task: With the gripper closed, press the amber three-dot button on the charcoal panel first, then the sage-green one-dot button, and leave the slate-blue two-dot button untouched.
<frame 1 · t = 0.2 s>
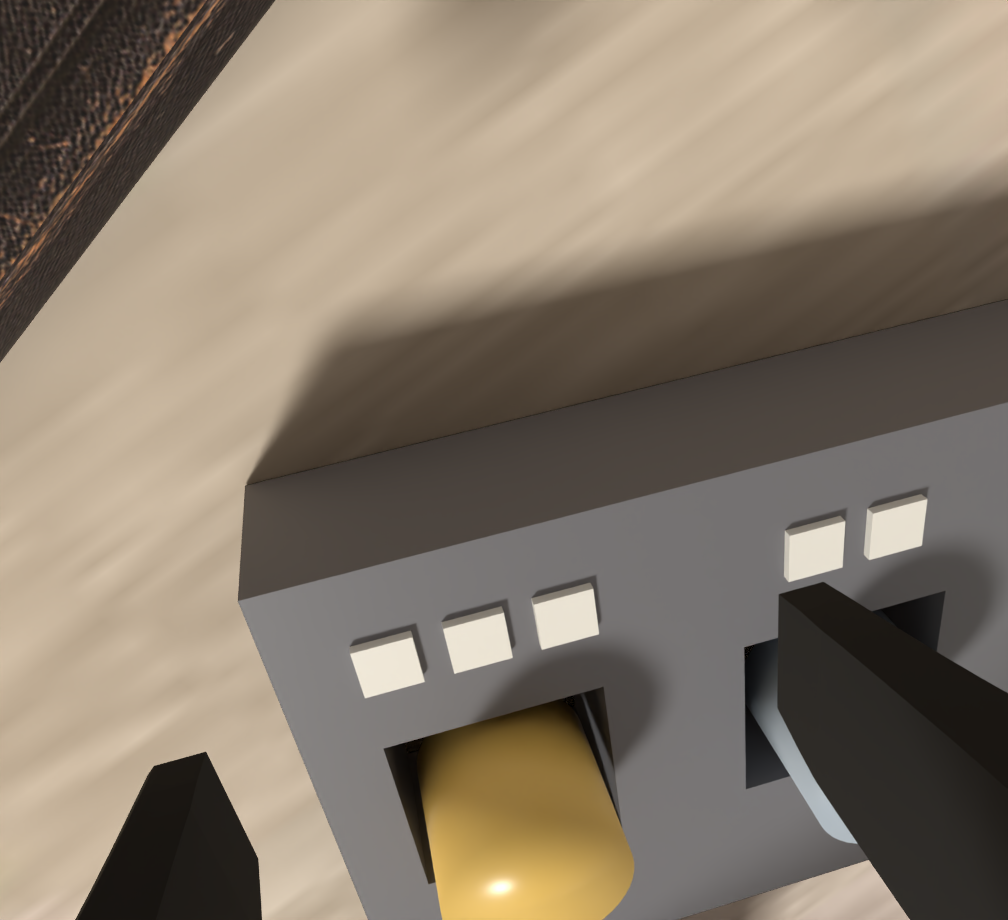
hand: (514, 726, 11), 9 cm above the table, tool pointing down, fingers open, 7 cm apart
button two: (857, 716, 20), point 5 cm above the table, slide at 0.0 cm
button three: (518, 816, 19), point 5 cm above the table, slide at 0.0 cm
button panel: (761, 590, 24), on the table
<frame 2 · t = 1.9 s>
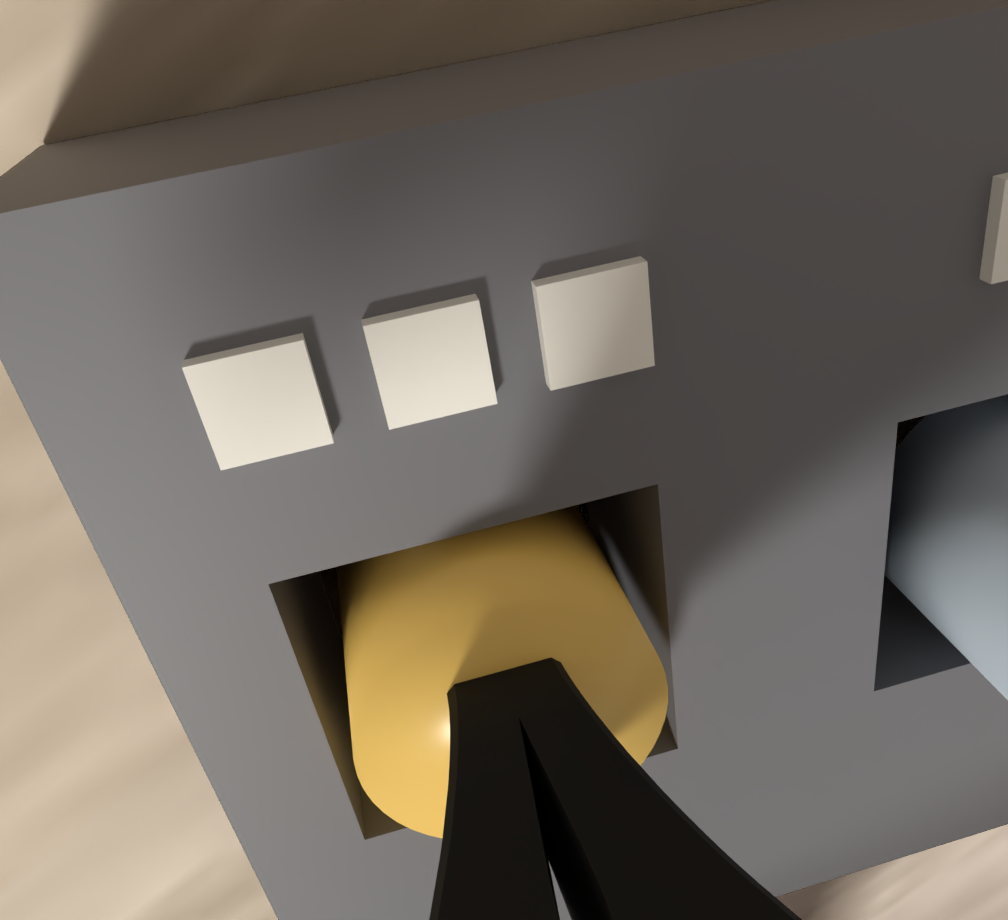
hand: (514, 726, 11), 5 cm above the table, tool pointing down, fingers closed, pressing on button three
button three: (487, 636, 12), point 3 cm above the table, slide at 1.5 cm, touching gripper
button panel: (878, 407, 16), on the table
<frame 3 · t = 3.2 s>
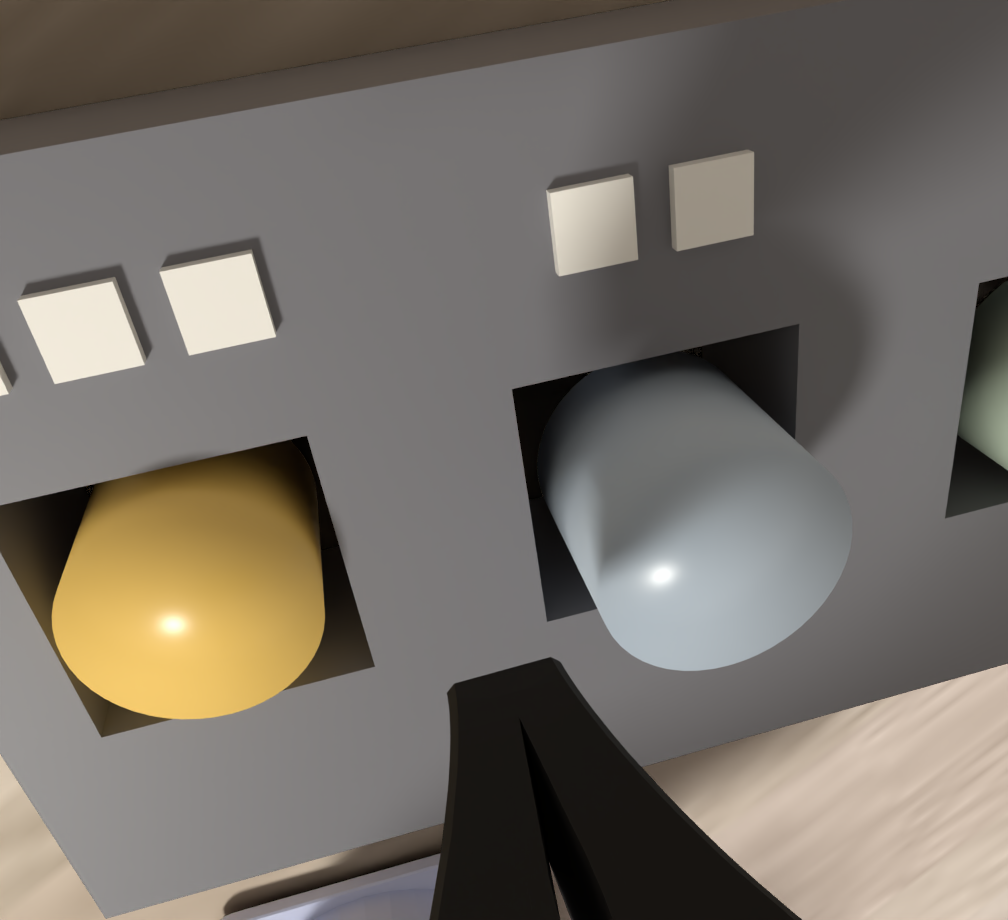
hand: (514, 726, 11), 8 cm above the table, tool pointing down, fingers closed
button two: (680, 503, 15), point 5 cm above the table, slide at 0.0 cm
button three: (202, 556, 15), point 3 cm above the table, slide at 1.8 cm
button panel: (595, 386, 19), on the table
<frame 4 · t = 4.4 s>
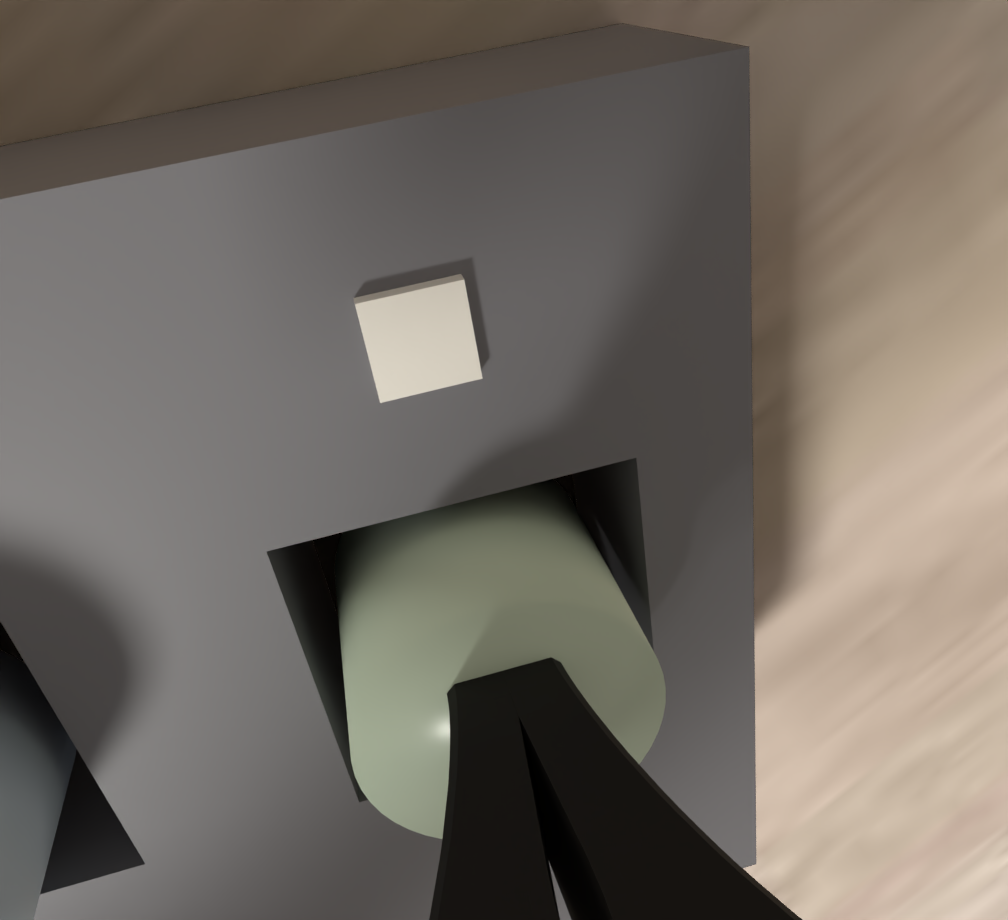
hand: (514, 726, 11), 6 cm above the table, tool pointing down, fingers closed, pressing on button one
button one: (484, 636, 12), point 4 cm above the table, slide at 0.9 cm, touching gripper
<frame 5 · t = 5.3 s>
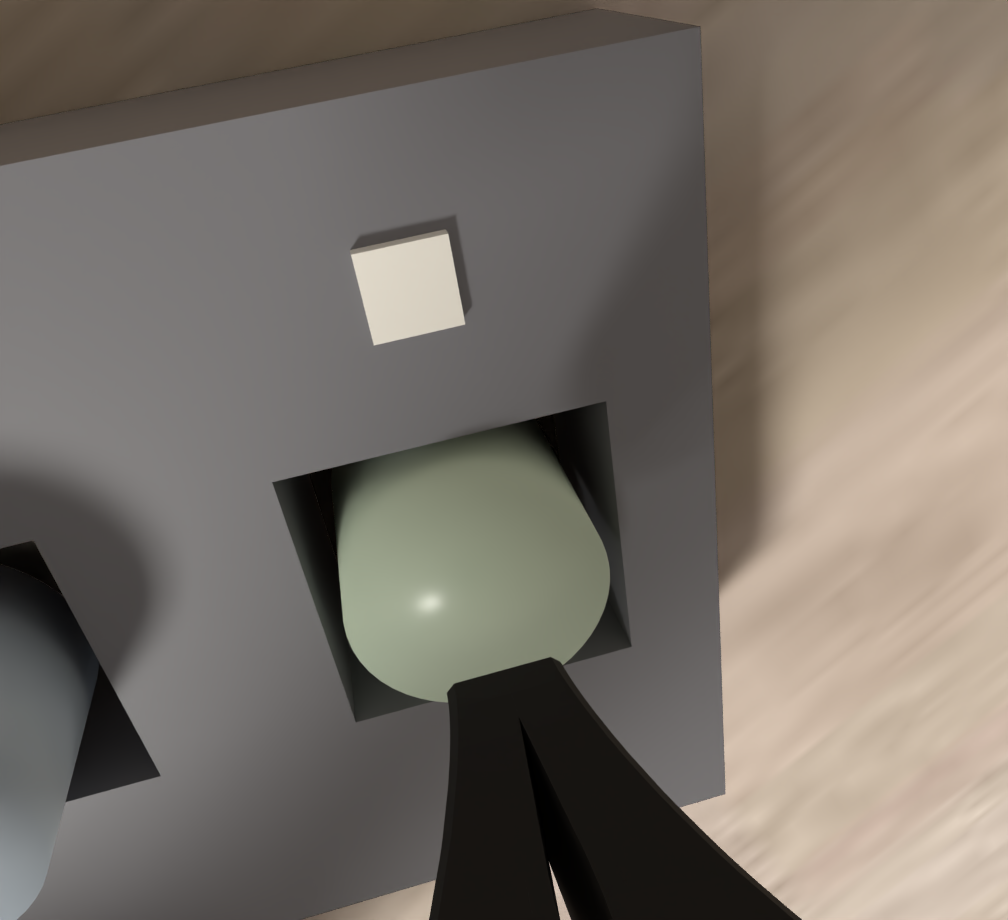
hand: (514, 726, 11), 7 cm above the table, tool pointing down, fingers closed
button panel: (8, 553, 16), on the table
button one: (459, 533, 15), point 3 cm above the table, slide at 1.8 cm
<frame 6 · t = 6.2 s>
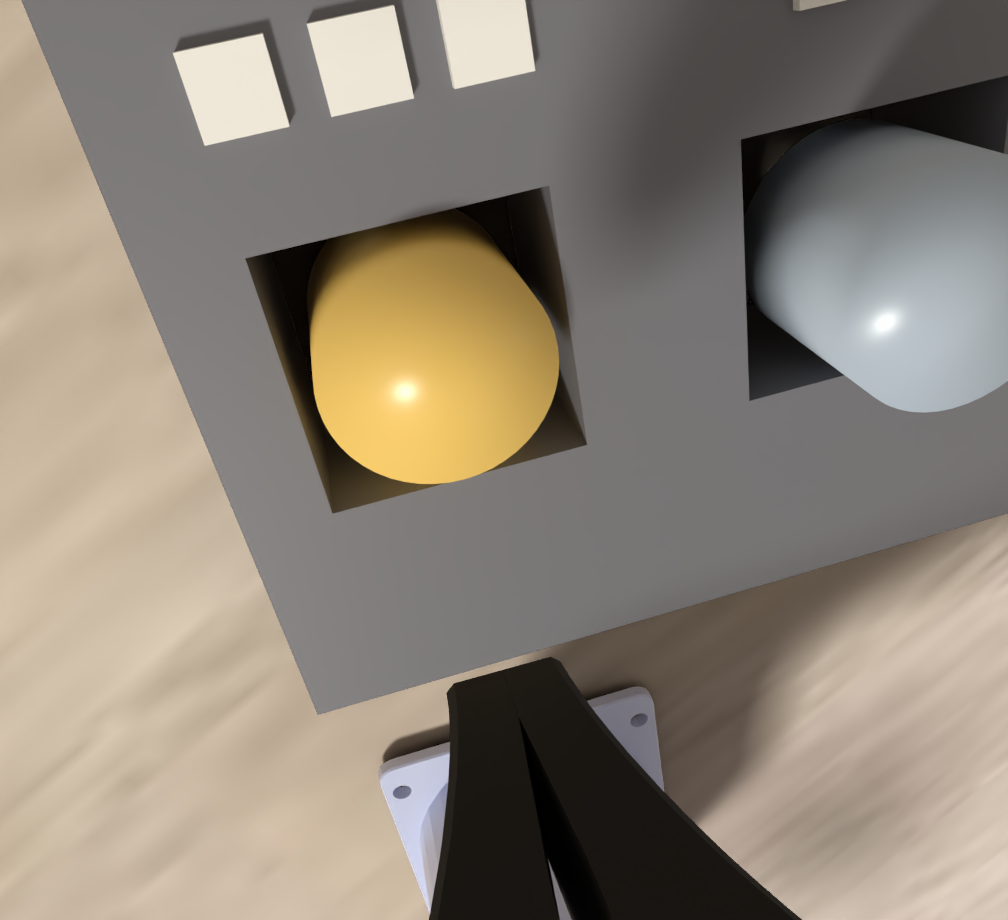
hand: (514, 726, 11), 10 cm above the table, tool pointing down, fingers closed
button two: (896, 259, 15), point 5 cm above the table, slide at 0.0 cm
button three: (424, 336, 16), point 3 cm above the table, slide at 1.8 cm
button panel: (766, 195, 19), on the table
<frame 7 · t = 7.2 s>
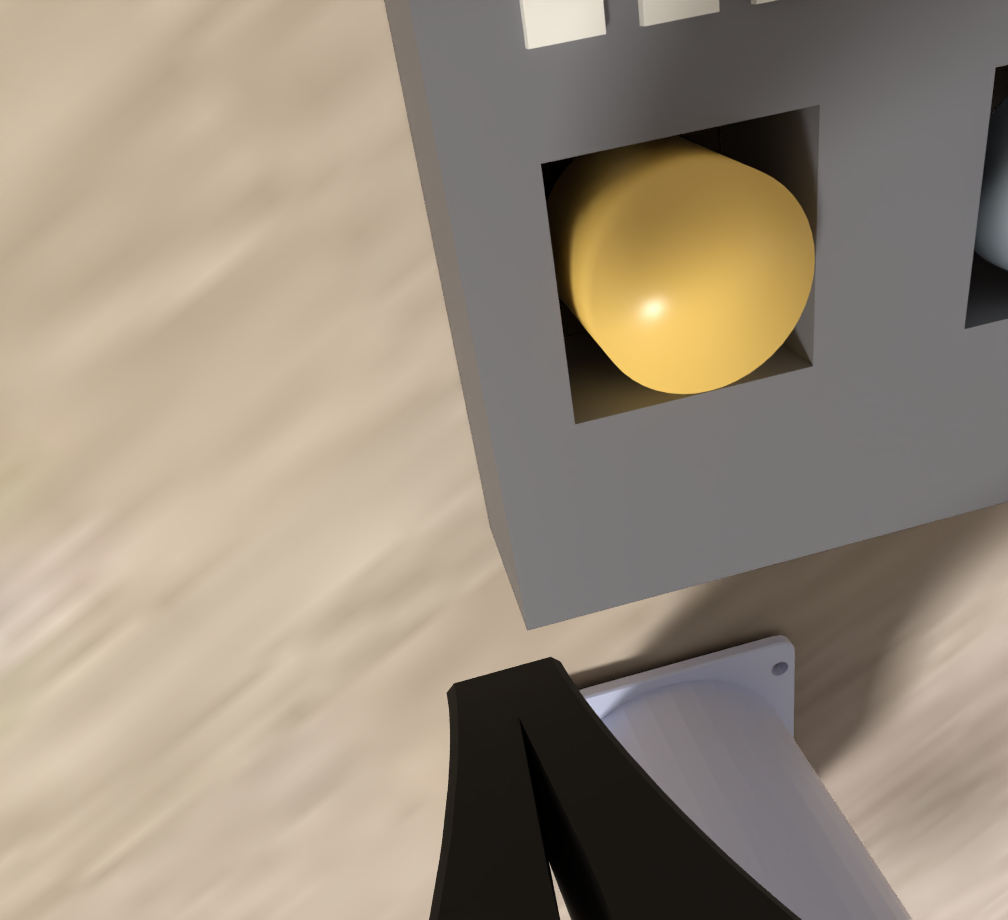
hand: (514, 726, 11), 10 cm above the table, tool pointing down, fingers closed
button three: (666, 256, 17), point 3 cm above the table, slide at 1.8 cm
button panel: (956, 144, 20), on the table
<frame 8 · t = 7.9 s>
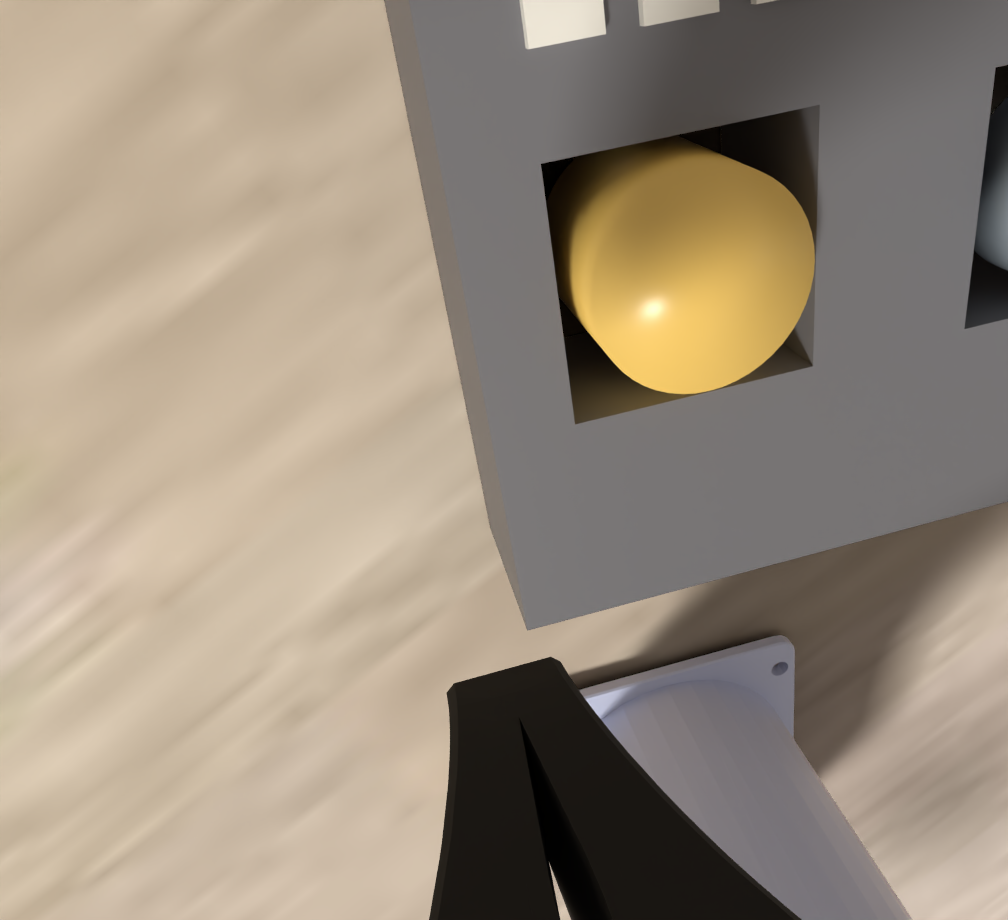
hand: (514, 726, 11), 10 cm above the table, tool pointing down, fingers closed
button three: (666, 256, 17), point 3 cm above the table, slide at 1.8 cm
button panel: (956, 144, 20), on the table
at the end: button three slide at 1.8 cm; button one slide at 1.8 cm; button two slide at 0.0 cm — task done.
